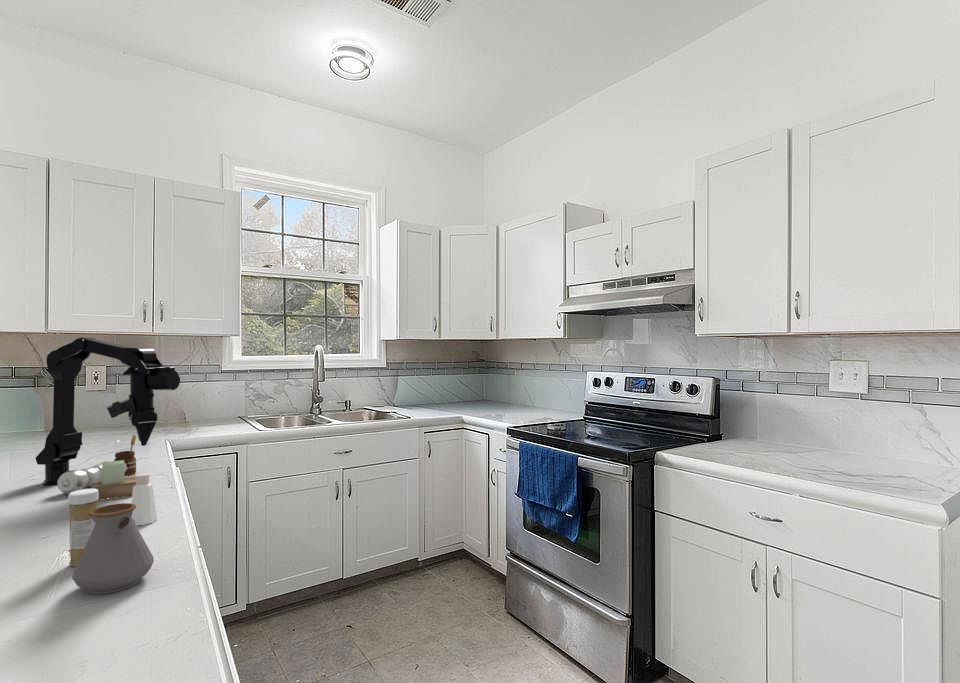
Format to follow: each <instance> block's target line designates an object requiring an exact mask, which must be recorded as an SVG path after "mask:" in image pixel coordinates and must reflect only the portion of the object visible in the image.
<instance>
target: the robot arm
mask: <svg viewBox="0 0 960 683" xmlns="http://www.w3.org/2000/svg"><path fill="white" fill-rule="evenodd" d="M91 354H95V355H100V356H104V357H108V358H112V359H117V360H118V361H120V362H121V363H122V364H123V365H126V366H128V368H127V369H126V370H125V371H124V372H123V373H122V374H123V375H124V376H130V377H129V381H130V382H129V386H130V387H129V388H130V391H129V392H130V393H129V394H128V399H125V400H121V401H118V400H117V401H115V402H112V404H110V405H109V406H106V409H107V411H108V414H109V416H110V417H111V419H114V418H116V417H118V416H120V415H122V414H125V413H127V414H128V420H130V423H131V425H132V426H134V427H135V429H136V434H137V437H138V441H139V442H140V445H141V446H143V447H145V446H147V445H148V442H149V440H150V437H151V435H152V433H153V431H154V429H155V426H156V424H157V421H158V413H157V412H155V407H154V398H155V393H154V391H175V390H176V389H178V388H179V386H180V383H181V377H180V375H179V373H178V372H177V371H176V367H175V366H164V364H163V363H162V361H161V360H160V358H159V357H158V355H157V353H156V351H155V349H154V348H152V347H145V346H143V347H142V346H138V347H137V346H126V345H121V344H119V343H118V344H117V343H113V342H110V341H104V340H101V339H96V338H94V337H87V336H86V337H83V336H82V337H78V338H76V339H74V340H73V341H71V342H69V343H66V344H65V345H63V346H61V347H59V348H57V349H55V350H52V351H50V352H49V353H48V354H47V355H46V358H45V359H46V367H47V372H48V373H49V375H50V376H51V378H52V379H53V402H52V404H53V408H52V409H53V410H52V411H53V412H52V428H51V430H50V432H49V433H48V434H47V436H46V438H45V444H44V448H43V449H42V450H41V451H40V452H39V453H38V455H37V456H35V461H36V465H41V466H42V465H44V477H45V478H44V479H43V483H42V486H49V485H57V482H58V479H59V477H60V476H61V475H62V474H63V473H65V472H68V471H70V461H71V460H75V459H77V457H78V453H79V451H81V447H82V446H83V440H82V439H83V432H82V431H77V429H76V427H75V423H74V422H75V389H76V388H75V384H76V383H75V382H76V379H77V377H78V375H79V374H80V372H81V370H82V365H83V362H85V361H86V360H87V359H88V358H90V357H91Z"/></svg>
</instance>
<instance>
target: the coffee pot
mask: <svg viewBox="0 0 960 683" xmlns="http://www.w3.org/2000/svg"><path fill="white" fill-rule="evenodd" d="M135 508H136V505H135V504H132V503H128V502H124V503H123V502H121V503H114V504H113V503H112V504H108V505H104V506H100V507H98V508H97V509H94V510H92V511H91V512H89V513H88V515H89V516H90V517H91V518H92V519H93V521H94V522H95V523H96V524H95V526H94V528H93V531H92V533H91V535H90V537H89V539H88V541H87V544H86V546H85V548H84V550H83V552H82V555H81V557H80V559H79V561H78V563H77V566H75V568H74V570H73V572H72V580H73V582H74V583H75V585H76V586H77V587H79V589H82V590H85V591H86V592H87V593H89V594H93V595H103V594H104V595H105V594H111V593H116V592H120V591H122V590H125V589H128V588H131V587H132V586H135V585H137V584H138V583H139V582H140V581H141V580H142V578H143V577H144V576H146V575H147V573H149V571H150V569H151V568H152V567H153V564H154V562H155V561H154V560H155V559H154V555H153V554H152V552H151V551H150V548H149V547H148V545H147V543H146V542H145V539H144V538H143V535H142V534H141V532H140V530H139V528H138V526H136V525H135V521H134V520H133V519H132V518H131V517H132V513H133V510H134V509H135Z"/></svg>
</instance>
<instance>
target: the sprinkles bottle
mask: <svg viewBox="0 0 960 683" xmlns="http://www.w3.org/2000/svg"><path fill="white" fill-rule="evenodd" d="M67 495H68V497H67V498H68V499H67V500H68V502H67V503H68V504H69V505H68V506H69V552H70V553H69V554H70V556H69V557H70V559H69V560H70V561H69V565H70V566H71V567H76V566H77V563H78V561H79V559H80V557H81V555H82V552H83V550H84V548H85V546H86V544H87V541H88V539H89V537H90V535H91V533H92V531H93V528H94V526H95V524H96V523H95V522H94V521H93V519H92V518H91V517H90V516H89V515H88V513H89V512H91V511H92V510H94V509H97V508H99V507H98V506H99V505H98V502H99V501H98V499H99V493H98V490H97V489H91V488H85V489H82V490H77V491H74V492H71V493H69V494H67Z"/></svg>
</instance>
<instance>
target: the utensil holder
mask: <svg viewBox="0 0 960 683" xmlns="http://www.w3.org/2000/svg"><path fill="white" fill-rule="evenodd" d="M136 439H137V435H136V434H132V436H131V440H130V446H131V447H130V450H125V449H124V447H125V446H124V444H123V442H119V440H116V441H115V442H114V443H113V445H114V446H113V447H114V448H117V450H115V454H114V458H115V459H114V460H113V461H121V460H124V463H125V464H126V466H127V469H126V471H125V472H124V476H128V475H129V476H130V475H136V473H137V459H136V456H135V455H136V452H135V451H134V450H133V447H134V446H135V442H136ZM118 444H119V446H120V448H118ZM119 449H120V450H119ZM124 450H125V451H124Z"/></svg>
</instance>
